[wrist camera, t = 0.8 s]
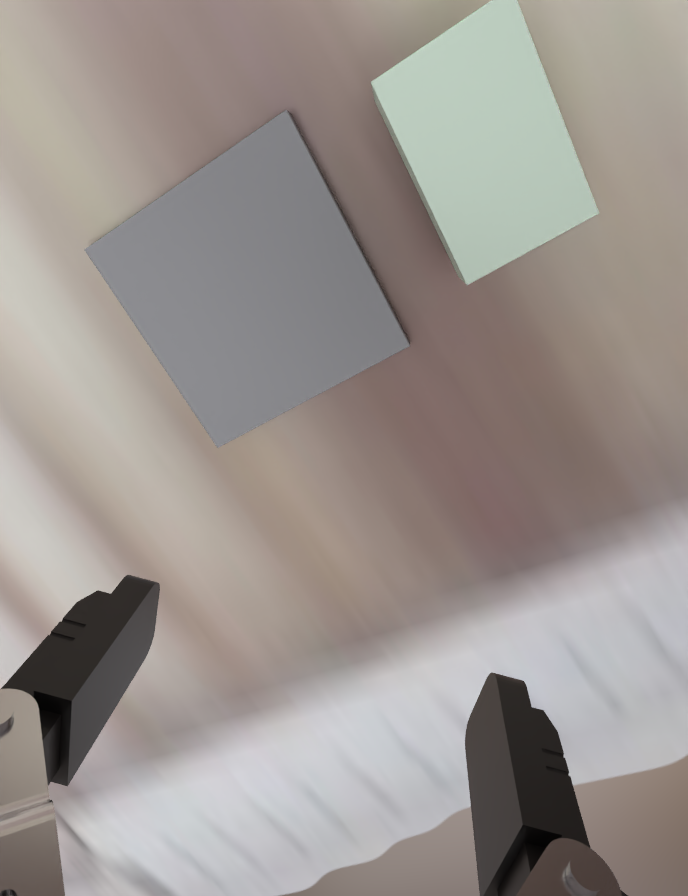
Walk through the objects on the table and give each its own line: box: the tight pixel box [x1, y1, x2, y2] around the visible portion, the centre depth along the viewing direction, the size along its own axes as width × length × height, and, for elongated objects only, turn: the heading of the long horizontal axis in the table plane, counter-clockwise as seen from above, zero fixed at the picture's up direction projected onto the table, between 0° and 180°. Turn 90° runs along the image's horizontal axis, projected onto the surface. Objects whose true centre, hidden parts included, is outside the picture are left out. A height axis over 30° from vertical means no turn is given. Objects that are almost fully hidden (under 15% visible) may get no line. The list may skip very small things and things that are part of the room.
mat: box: [85, 110, 410, 448], centre depth 34 cm, size 14×14×1 cm
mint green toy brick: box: [371, 0, 599, 285], centre depth 27 cm, size 6×9×8 cm, turn 30°
